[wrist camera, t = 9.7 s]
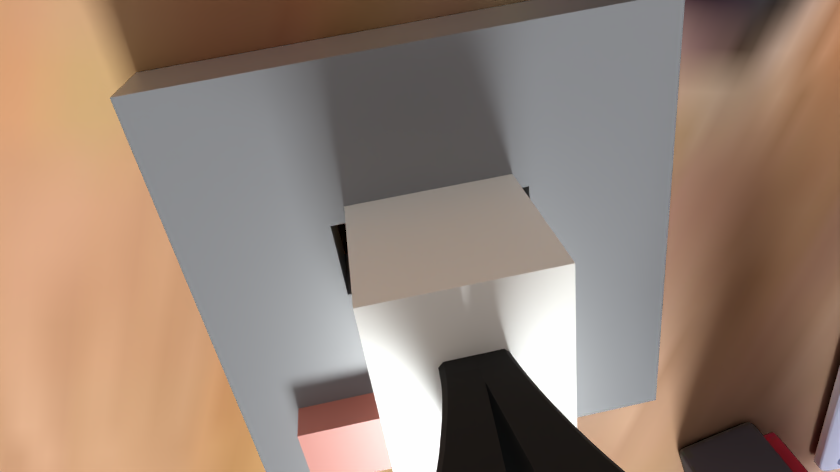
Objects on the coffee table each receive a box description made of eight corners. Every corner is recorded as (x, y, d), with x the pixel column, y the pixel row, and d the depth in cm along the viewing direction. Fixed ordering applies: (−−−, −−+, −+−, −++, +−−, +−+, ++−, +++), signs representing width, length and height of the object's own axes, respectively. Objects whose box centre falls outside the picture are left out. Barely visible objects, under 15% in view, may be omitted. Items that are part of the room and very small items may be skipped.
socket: (641, -20, 14) (712, -2, 12) (627, 357, 20) (671, 424, 18) (136, 72, 14) (93, 113, 11) (275, 434, 20) (269, 515, 17)
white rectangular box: (492, 146, 16) (575, 263, 11) (506, 299, 18) (577, 452, 13) (341, 175, 15) (352, 308, 10) (375, 326, 18) (398, 492, 13)
